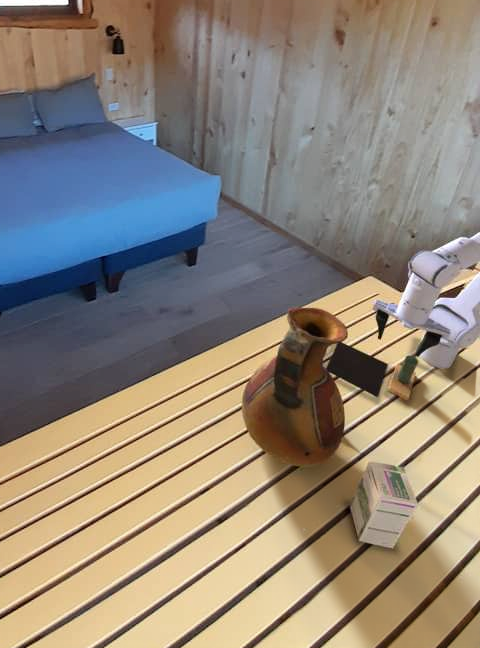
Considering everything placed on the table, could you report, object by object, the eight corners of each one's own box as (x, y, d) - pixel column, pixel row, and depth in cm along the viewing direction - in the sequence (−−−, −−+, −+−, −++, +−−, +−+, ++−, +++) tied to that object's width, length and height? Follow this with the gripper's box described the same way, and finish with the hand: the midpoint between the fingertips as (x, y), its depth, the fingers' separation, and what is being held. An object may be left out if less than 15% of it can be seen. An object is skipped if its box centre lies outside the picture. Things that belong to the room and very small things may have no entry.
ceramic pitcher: (348, 425, 88) (388, 326, 74) (315, 502, 75) (355, 399, 62) (264, 374, 100) (284, 280, 86) (222, 433, 87) (239, 333, 74)
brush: (394, 370, 101) (405, 343, 96) (412, 379, 98) (425, 352, 94) (385, 394, 95) (397, 367, 90) (405, 405, 92) (418, 377, 88)
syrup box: (394, 549, 69) (422, 505, 62) (356, 541, 70) (380, 496, 63) (381, 511, 74) (406, 466, 67) (347, 504, 75) (368, 459, 68)
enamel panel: (337, 344, 108) (338, 340, 107) (386, 367, 101) (387, 363, 101) (323, 374, 100) (325, 370, 99) (375, 401, 93) (377, 397, 93)
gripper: (376, 295, 90) (360, 339, 96) (457, 327, 82) (433, 372, 88) (383, 280, 95) (367, 322, 101) (459, 308, 87) (436, 353, 93)
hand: (398, 344), depth 95 cm, fingers open, 7 cm apart
